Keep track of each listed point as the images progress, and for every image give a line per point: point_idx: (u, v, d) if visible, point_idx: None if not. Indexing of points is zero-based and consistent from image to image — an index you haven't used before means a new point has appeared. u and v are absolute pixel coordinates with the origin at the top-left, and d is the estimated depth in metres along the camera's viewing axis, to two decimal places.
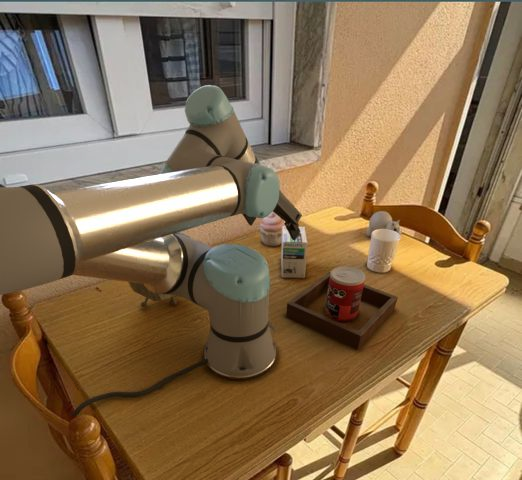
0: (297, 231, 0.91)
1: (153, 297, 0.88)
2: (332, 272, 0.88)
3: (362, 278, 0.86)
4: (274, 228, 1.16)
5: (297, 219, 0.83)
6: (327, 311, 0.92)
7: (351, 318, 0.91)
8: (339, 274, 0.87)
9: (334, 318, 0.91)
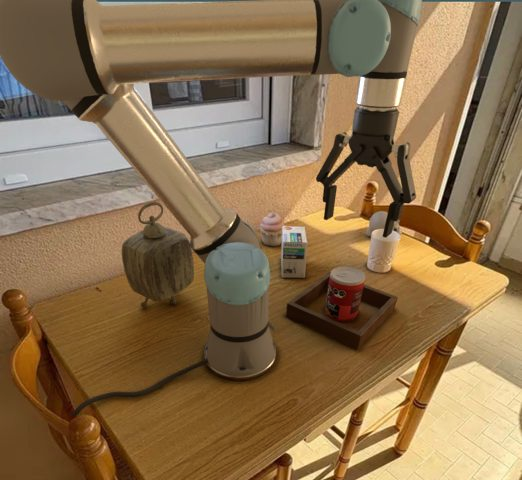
0: (391, 228, 0.76)
1: (153, 297, 0.88)
2: (332, 272, 0.88)
3: (362, 278, 0.86)
4: (274, 228, 1.16)
5: (413, 198, 0.69)
6: (327, 311, 0.92)
7: (351, 318, 0.91)
8: (339, 274, 0.87)
9: (334, 318, 0.91)
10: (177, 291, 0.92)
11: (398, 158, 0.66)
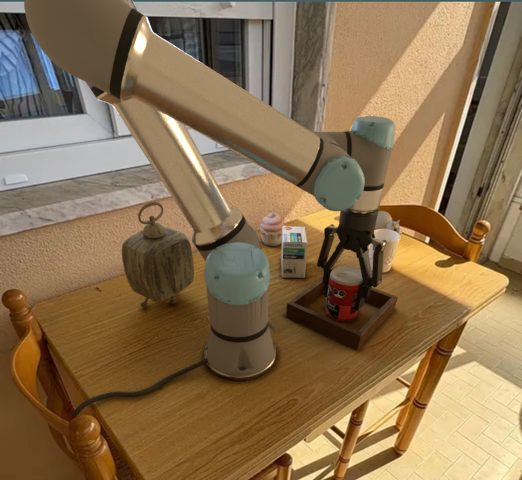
0: (362, 303, 0.89)
1: (153, 297, 0.88)
2: (332, 272, 0.88)
3: None
4: (274, 228, 1.16)
5: (378, 283, 0.83)
6: (327, 311, 0.92)
7: (351, 318, 0.91)
8: (339, 274, 0.87)
9: (334, 318, 0.91)
10: (177, 291, 0.92)
11: (374, 252, 0.78)
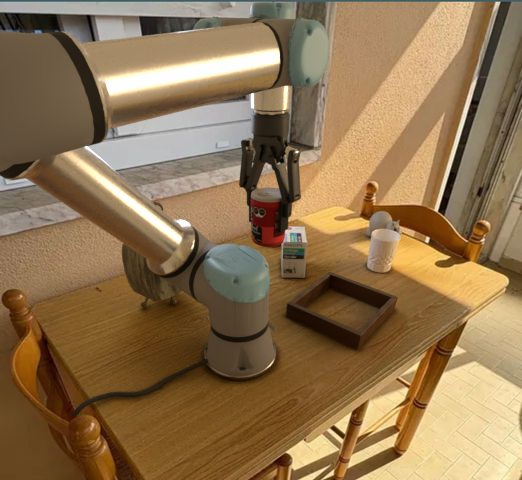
0: (285, 225, 0.85)
1: (153, 297, 0.88)
2: (253, 191, 0.84)
3: None
4: None
5: (296, 198, 0.79)
6: (252, 236, 0.89)
7: (276, 242, 0.87)
8: (260, 193, 0.84)
9: (258, 242, 0.88)
10: (177, 291, 0.92)
11: (287, 161, 0.75)
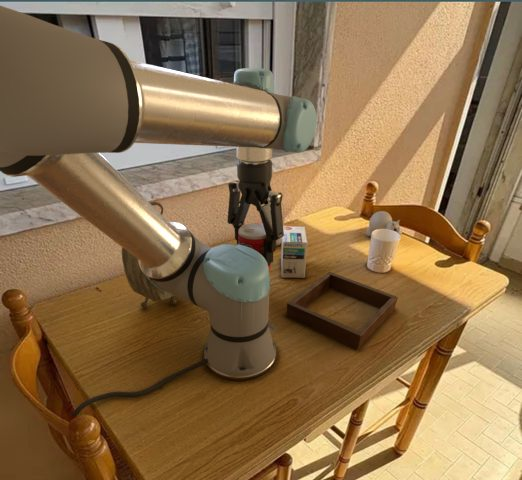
0: (271, 258, 0.92)
1: (153, 297, 0.88)
2: (240, 228, 0.91)
3: None
4: None
5: (280, 236, 0.86)
6: None
7: None
8: (247, 230, 0.91)
9: None
10: None
11: (271, 204, 0.82)
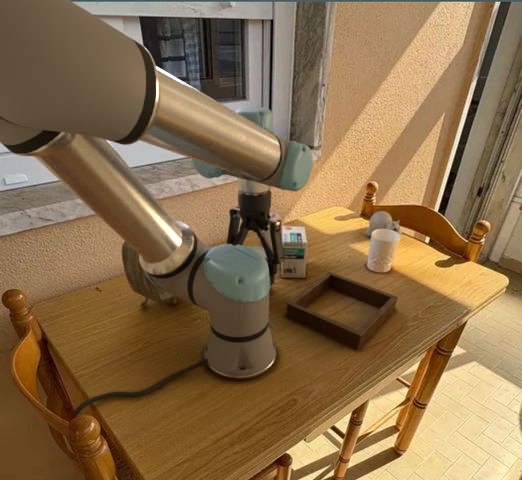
0: (272, 280, 0.96)
1: (153, 297, 0.88)
2: None
3: None
4: None
5: (281, 261, 0.90)
6: None
7: None
8: None
9: None
10: None
11: (270, 231, 0.86)
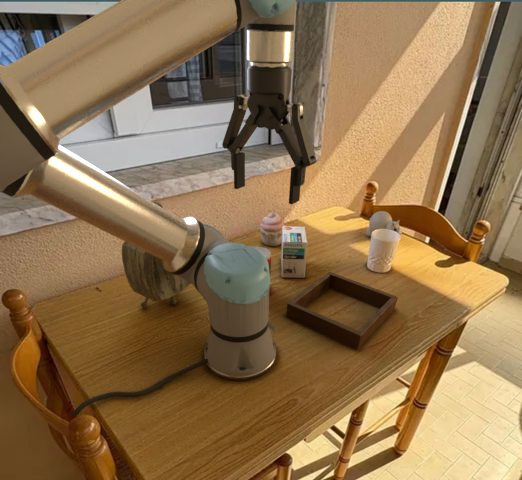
0: (297, 195, 0.74)
1: (153, 297, 0.88)
2: None
3: (267, 256, 0.93)
4: (274, 228, 1.16)
5: (312, 160, 0.68)
6: None
7: None
8: None
9: None
10: (177, 291, 0.92)
11: (293, 118, 0.65)
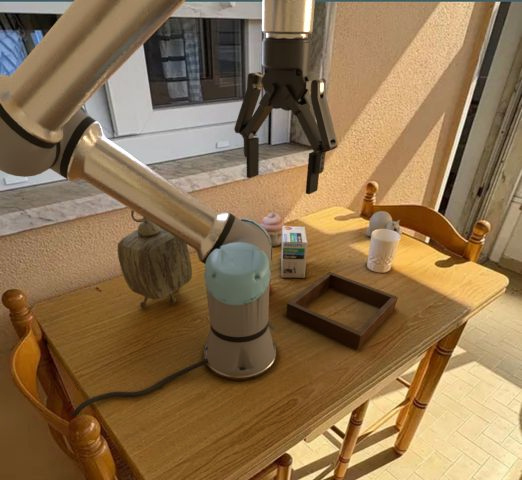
0: (315, 184, 0.67)
1: (151, 296, 0.88)
2: None
3: None
4: (274, 228, 1.16)
5: (332, 145, 0.61)
6: None
7: None
8: None
9: None
10: (175, 289, 0.92)
11: (312, 97, 0.58)
